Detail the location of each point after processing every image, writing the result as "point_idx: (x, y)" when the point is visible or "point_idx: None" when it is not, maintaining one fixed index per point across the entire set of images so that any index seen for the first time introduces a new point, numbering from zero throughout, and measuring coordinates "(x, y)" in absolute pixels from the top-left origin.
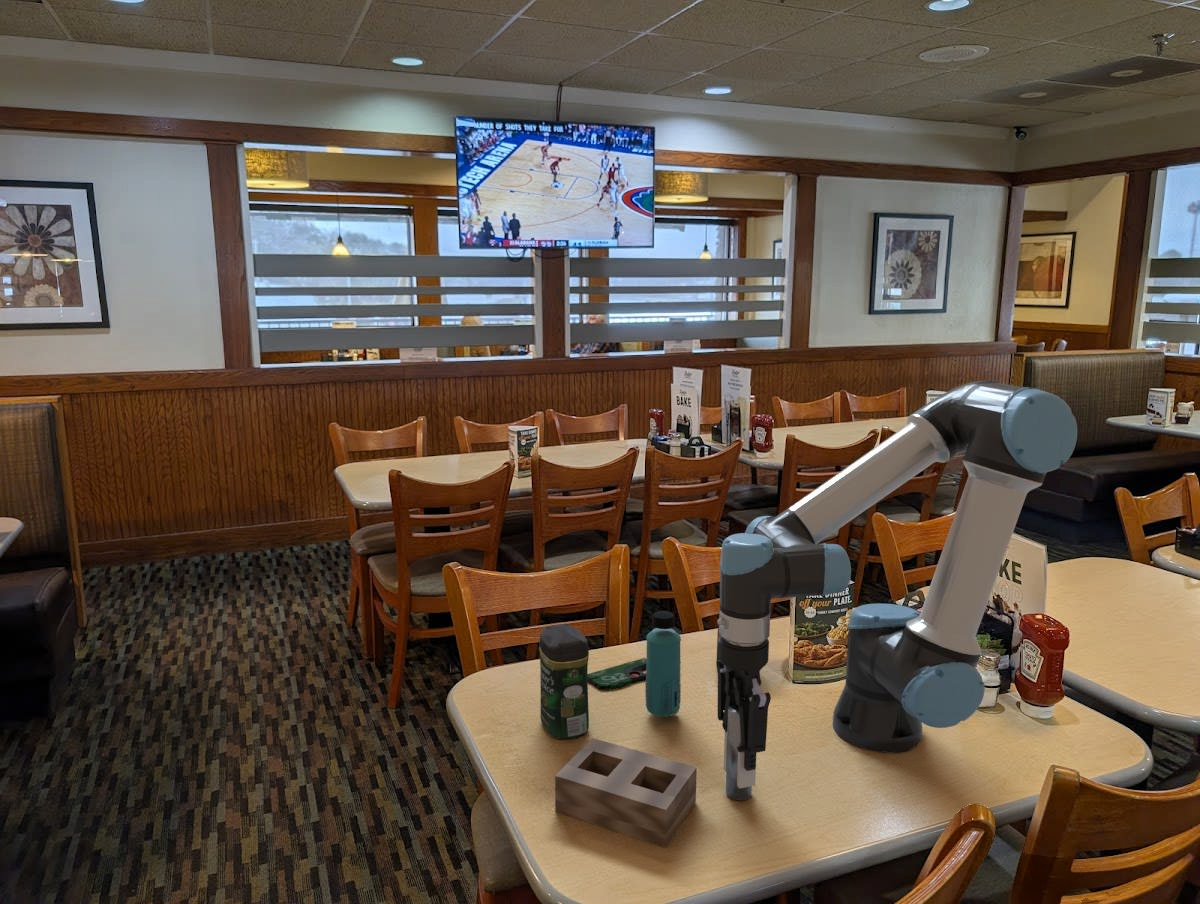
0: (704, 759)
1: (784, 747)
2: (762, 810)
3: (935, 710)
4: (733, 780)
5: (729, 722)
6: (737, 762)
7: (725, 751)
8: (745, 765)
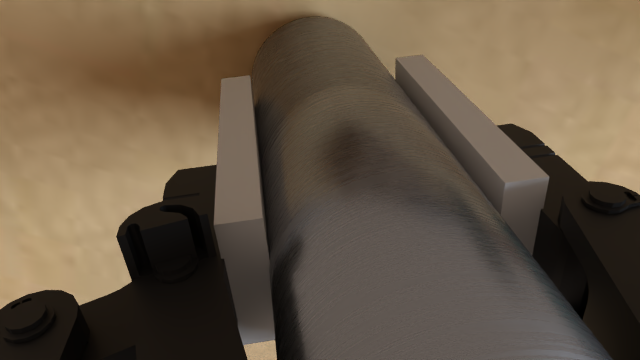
0: (622, 11)
1: None
2: (175, 139)
3: None
4: (276, 69)
5: (458, 327)
6: (274, 141)
7: (452, 105)
8: (199, 183)
